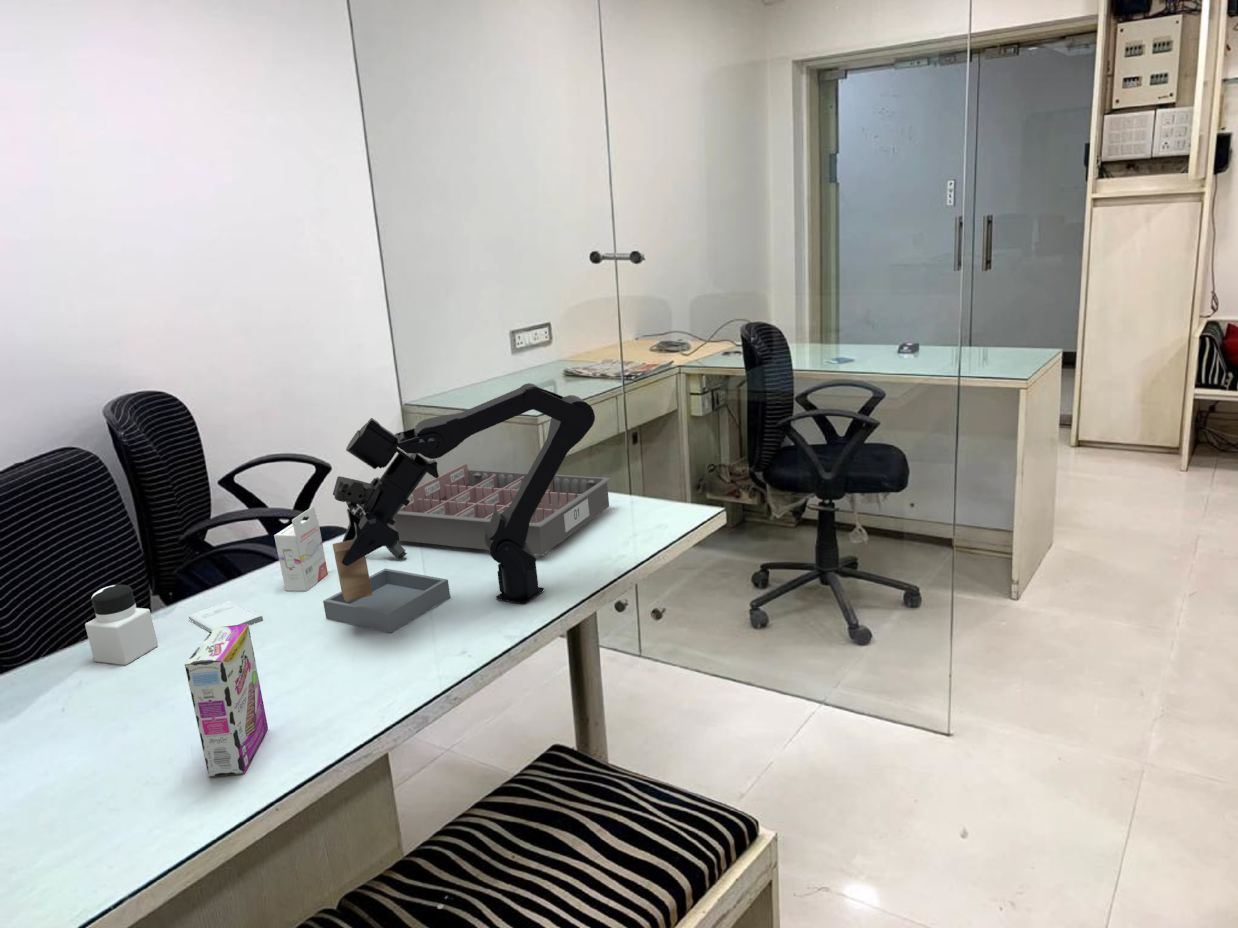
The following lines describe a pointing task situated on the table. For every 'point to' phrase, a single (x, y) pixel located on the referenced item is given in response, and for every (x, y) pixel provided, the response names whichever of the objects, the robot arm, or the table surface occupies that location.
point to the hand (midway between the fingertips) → (342, 559)
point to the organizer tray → (496, 508)
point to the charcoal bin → (389, 600)
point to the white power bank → (225, 616)
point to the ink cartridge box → (301, 552)
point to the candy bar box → (227, 699)
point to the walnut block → (352, 574)
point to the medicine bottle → (119, 627)
